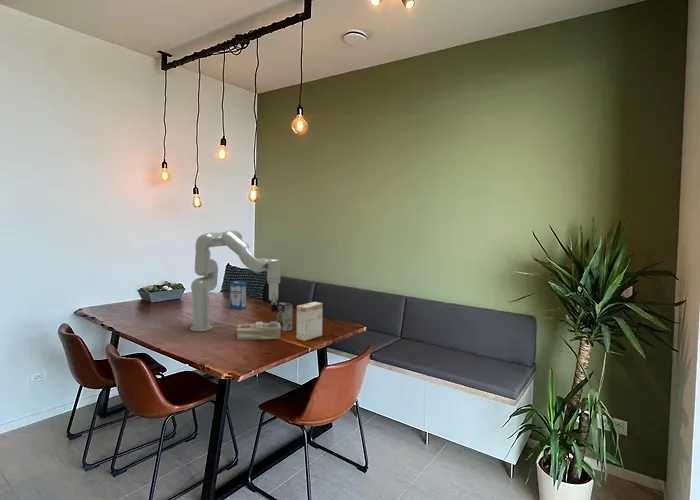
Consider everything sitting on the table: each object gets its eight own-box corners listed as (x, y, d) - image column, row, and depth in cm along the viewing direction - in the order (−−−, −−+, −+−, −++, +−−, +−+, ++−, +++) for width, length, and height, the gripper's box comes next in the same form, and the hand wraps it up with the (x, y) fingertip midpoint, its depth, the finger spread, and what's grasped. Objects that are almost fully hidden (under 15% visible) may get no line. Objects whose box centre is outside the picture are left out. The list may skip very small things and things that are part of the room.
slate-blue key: (269, 328, 238) (269, 321, 238) (276, 327, 239) (276, 321, 238) (269, 330, 234) (269, 323, 234) (276, 329, 235) (276, 323, 235)
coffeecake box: (314, 333, 243) (314, 301, 242) (322, 335, 239) (323, 303, 237) (295, 338, 232) (296, 305, 230) (304, 341, 227) (304, 307, 226)
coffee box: (276, 328, 253) (276, 302, 252) (285, 326, 257) (285, 301, 256) (283, 331, 246) (283, 305, 245) (292, 329, 250) (292, 304, 249)
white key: (255, 328, 236) (255, 321, 236) (262, 328, 237) (262, 321, 237) (255, 330, 233) (255, 323, 232) (262, 330, 233) (262, 323, 233)
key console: (238, 334, 239) (238, 324, 238) (279, 332, 243) (279, 322, 243) (237, 340, 227) (237, 329, 226) (280, 338, 232) (280, 328, 231)
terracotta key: (241, 330, 235) (241, 323, 235) (248, 330, 236) (248, 323, 235) (241, 332, 231) (241, 325, 231) (248, 332, 232) (248, 325, 231)
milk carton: (229, 309, 302) (229, 282, 301) (234, 307, 308) (234, 281, 307) (241, 310, 300) (241, 283, 298) (246, 308, 306) (246, 282, 304)
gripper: (267, 278, 241) (267, 309, 242) (267, 282, 226) (267, 314, 227) (279, 278, 242) (280, 308, 244) (280, 282, 228) (281, 314, 229)
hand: (274, 311), depth 236 cm, fingers closed
